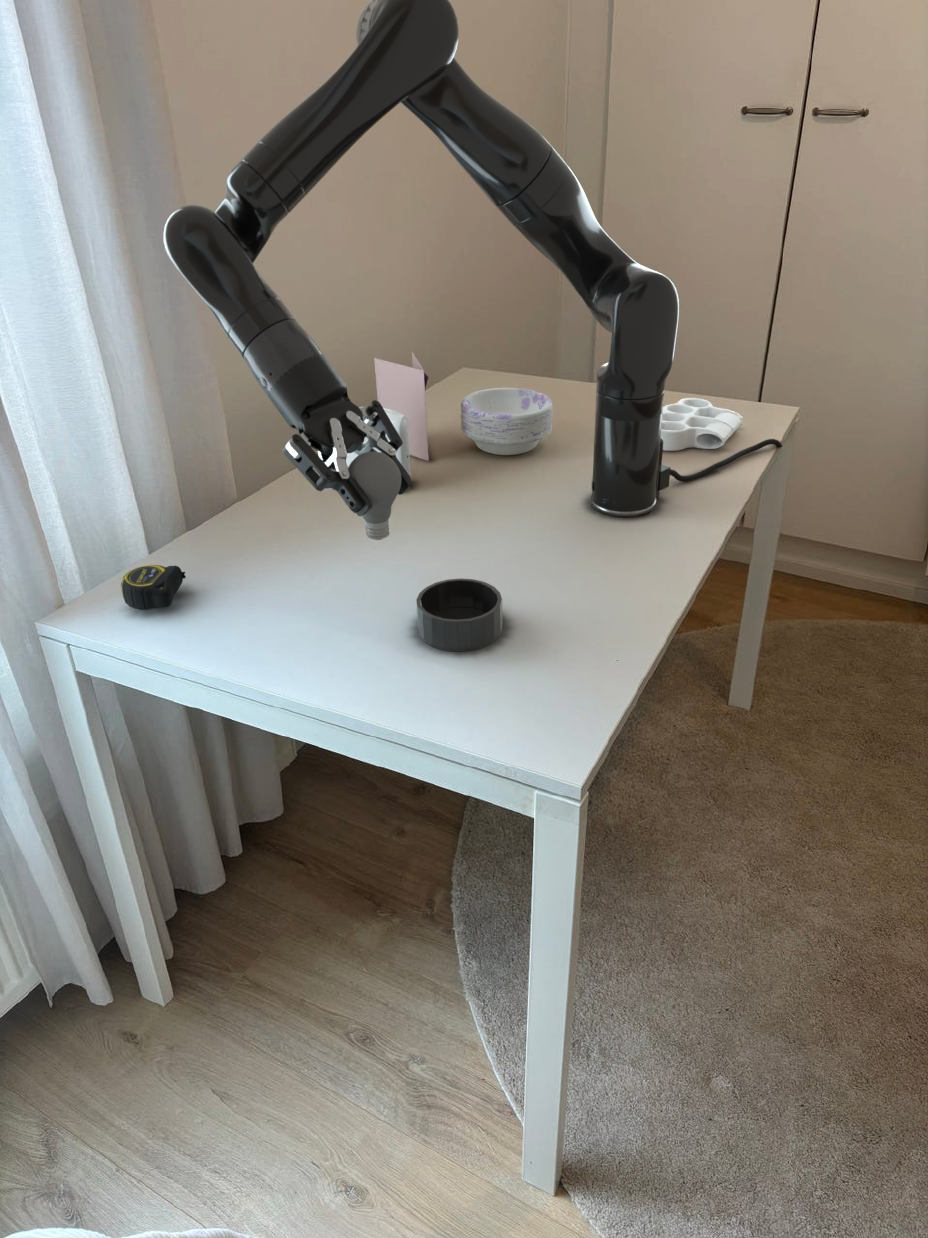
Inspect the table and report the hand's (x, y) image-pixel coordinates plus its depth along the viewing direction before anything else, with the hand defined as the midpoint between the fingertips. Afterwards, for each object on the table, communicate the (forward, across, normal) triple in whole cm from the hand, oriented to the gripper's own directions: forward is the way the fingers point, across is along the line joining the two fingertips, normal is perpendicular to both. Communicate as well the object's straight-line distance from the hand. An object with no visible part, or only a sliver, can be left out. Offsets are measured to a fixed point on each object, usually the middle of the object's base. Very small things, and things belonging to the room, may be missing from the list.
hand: (386, 500), depth 102 cm
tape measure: (-9, -10, +33) cm, 36 cm away
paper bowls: (-3, +56, +28) cm, 63 cm away
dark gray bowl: (+16, +5, +8) cm, 18 cm away
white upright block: (-9, +32, +33) cm, 47 cm away
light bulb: (+2, 0, +5) cm, 5 cm away
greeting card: (-13, +45, +37) cm, 60 cm away
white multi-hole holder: (+13, +77, +11) cm, 79 cm away
